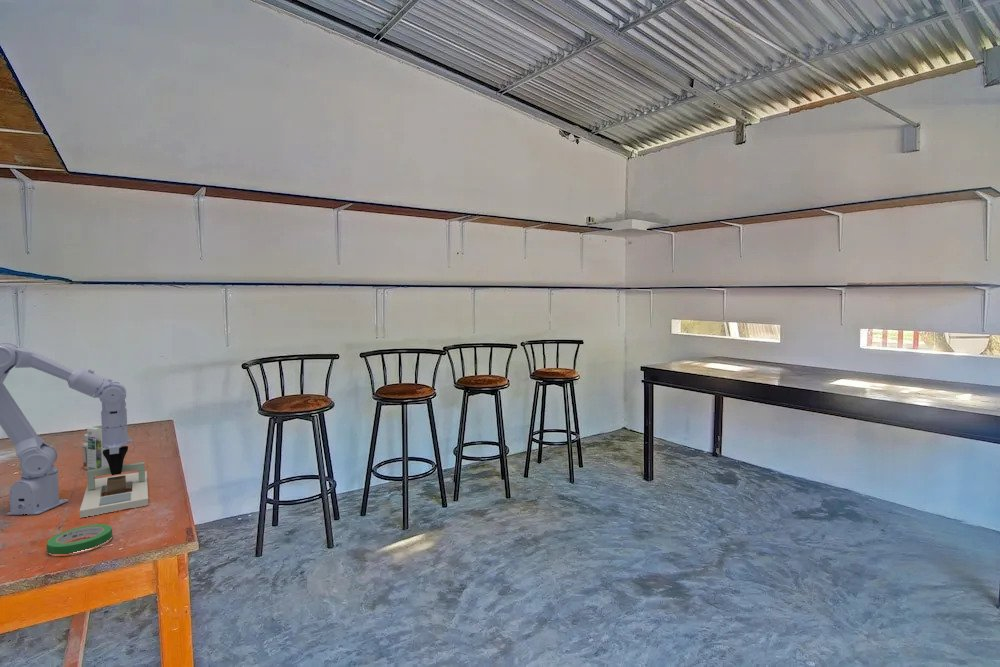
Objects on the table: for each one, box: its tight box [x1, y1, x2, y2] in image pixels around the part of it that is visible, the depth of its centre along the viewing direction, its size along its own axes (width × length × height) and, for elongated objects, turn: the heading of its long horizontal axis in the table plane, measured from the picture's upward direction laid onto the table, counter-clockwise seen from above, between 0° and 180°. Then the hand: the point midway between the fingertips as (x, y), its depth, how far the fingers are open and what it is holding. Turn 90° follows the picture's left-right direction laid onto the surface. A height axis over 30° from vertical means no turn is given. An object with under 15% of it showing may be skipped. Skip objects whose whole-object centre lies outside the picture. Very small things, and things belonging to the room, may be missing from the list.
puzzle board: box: [79, 470, 149, 519], centre depth 143 cm, size 30×14×2 cm, turn 35°
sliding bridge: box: [86, 461, 146, 490], centre depth 145 cm, size 2×13×5 cm, turn 125°
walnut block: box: [107, 474, 127, 496], centre depth 143 cm, size 4×4×5 cm
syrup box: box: [86, 424, 109, 470], centre depth 167 cm, size 6×6×14 cm
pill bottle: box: [82, 433, 88, 470], centre depth 170 cm, size 6×6×11 cm
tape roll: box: [46, 523, 113, 554], centre depth 112 cm, size 11×11×3 cm
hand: (116, 474), depth 144 cm, fingers closed
